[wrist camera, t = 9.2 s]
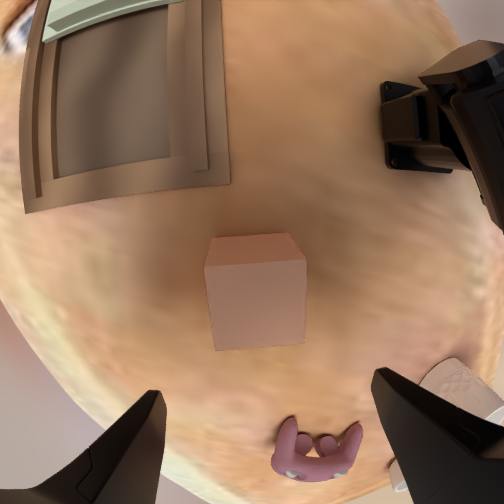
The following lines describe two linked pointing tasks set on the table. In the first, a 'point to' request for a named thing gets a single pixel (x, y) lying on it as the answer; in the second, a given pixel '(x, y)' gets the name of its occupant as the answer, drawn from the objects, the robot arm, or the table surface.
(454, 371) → the white cup
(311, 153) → the table surface
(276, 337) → the block
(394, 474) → the teacup
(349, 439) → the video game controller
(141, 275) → the table surface
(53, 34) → the lid
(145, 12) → the board
